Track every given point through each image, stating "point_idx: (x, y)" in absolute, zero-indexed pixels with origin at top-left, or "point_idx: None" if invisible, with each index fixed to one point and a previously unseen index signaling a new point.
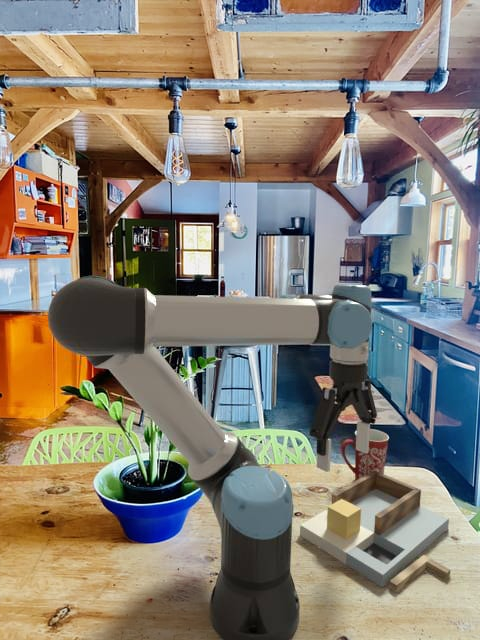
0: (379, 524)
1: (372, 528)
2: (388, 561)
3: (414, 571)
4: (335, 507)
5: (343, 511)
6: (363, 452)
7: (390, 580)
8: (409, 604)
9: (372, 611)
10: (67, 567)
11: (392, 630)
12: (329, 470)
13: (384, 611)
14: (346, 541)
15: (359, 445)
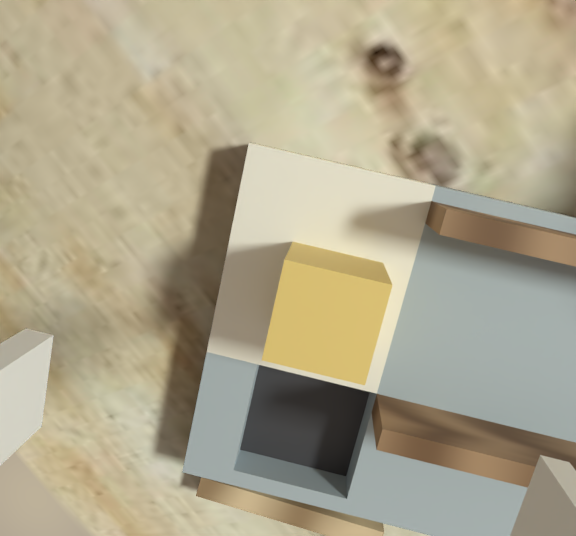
0: (374, 433)
1: (401, 381)
2: (308, 440)
3: (287, 522)
4: (301, 290)
5: (292, 331)
6: (515, 521)
7: (203, 478)
8: (180, 518)
9: (96, 451)
10: None
11: (74, 502)
12: (35, 427)
13: (116, 474)
14: (264, 331)
15: (548, 516)
